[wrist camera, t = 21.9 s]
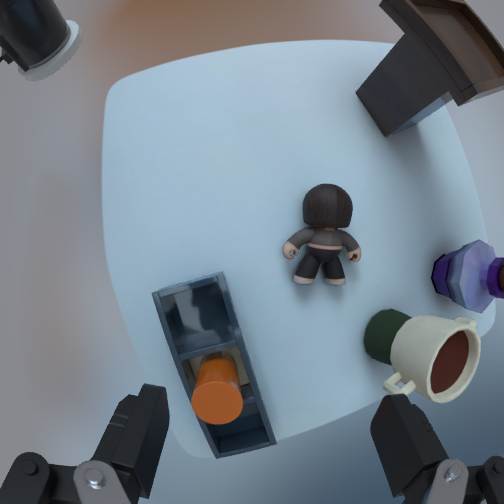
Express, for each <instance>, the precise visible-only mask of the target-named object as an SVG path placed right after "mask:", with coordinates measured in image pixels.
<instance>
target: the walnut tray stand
mask: <svg viewBox="0 0 504 504" xmlns="http://www.w3.org/2000/svg"><path fill="white" fill-rule="evenodd" d="M379 6H380V7H381V8H382V9H383V10H384V11H385V12H386V13H387V14H388V16H389V17H391V18H392V20H394V22H395V23H396V24H397V25H398V26H399V27H400V28H401V30H402V31H403V32H404V33H405V34H404V35H403V36H402V37H401V39H400V40H399V41H398V42H397V43H396V45H395V46H394V47H393V48H392V49H391V50H390V52H389V53H388V54H387V55H386V56H385V58H384V59H383V60H382V61H381V62H380V64H379V65H378V66H377V67H376V68H375V70H374V71H373V72H372V73H371V74H370V76H369V77H368V78H367V79H366V80H365V82H364V83H363V84H362V85H361V86H360V88H359V89H358V90H357V91H356V94H357V95H358V97H359V98H360V99H361V101H362V102H363V104H364V105H365V107H366V108H367V110H368V111H369V113H370V114H371V116H372V117H373V119H374V121H375V122H376V124H377V125H378V127H379V128H380V130H381V132H382V133H383V135H384V137H387V136H389V135H391V134H394V133H396V132H398V131H401V130H403V129H405V128H408V127H410V126H412V125H415V124H417V123H419V122H420V121H421V120H423V119H424V118H426V117H427V116H429V115H430V114H432V113H433V112H435V111H436V110H438V109H439V108H440V107H442V106H443V105H445V104H446V103H448V102H449V101H451V100H452V99H454V101H455V102H456V104H457V105H458V106H460V105H463V104H466V103H468V102H471V101H473V100H476V99H479V98H482V97H484V96H487V95H490V94H493V93H496V92H499V91H502V90H504V49H503V47H502V46H501V44H500V43H499V42H498V40H497V39H496V38H495V36H494V35H493V34H492V32H490V30H489V29H488V27H487V26H486V25H485V24H484V22H483V21H482V20H481V19H480V18H479V16H478V15H477V14H476V13H475V12H474V11H473V10H472V8H471V7H470V6H469V5H468V4H467V3H466V2H465V1H464V0H382V2H381V3H380V4H379Z"/></svg>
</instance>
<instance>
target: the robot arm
mask: <svg viewBox="0 0 504 504" xmlns="http://www.w3.org/2000/svg"><path fill="white" fill-rule="evenodd" d="M70 35H71V29H70V27H69V25H68V24H67V23H66V21H65V20H64V18H63V16H62V15H61V13H60V11H59V9H58V8H57V6H56V4H55V3H54V1H53V0H0V46H1V47H2V56H1V57H0V62H1V61H2V60H3V59H4V60H5V61H6V62H7V63H8V64H10V63H11V62H12V61H15V62H16V63H17V64H18V65H19V66H20V67H21V68H22V70H23V71H24V72H27V71H28V70H29V69H32V68H36V67H39V66H41V65H43V64H45V63H46V62H48V61H49V60H51V59H52V58H53V57H54V56H55V55H57V54H58V53H59V52H60V51H61V50H62V48H63V47H64V46H65V45H66V43H67V42H68V40H69V38H70ZM169 419H170V416H169V408H168V400H167V393H166V388H165V387H161V386H155V385H150V384H144V385H143V386H142V388H141V391H140V393H139V395H138V396H135V395H130V394H129V395H128V396H126V397H125V398H124V399H123V400H122V401H120V402H119V404H118V406H117V408H116V410H115V412H114V415H113V416H112V418H111V420H110V423H109V424H108V426H107V428H106V430H105V432H104V434H103V436H102V438H101V441H100V443H99V445H98V447H97V449H96V451H95V453H94V455H93V457H92V458H91V459H90V460H89V461H85V462H83V463H81V464H80V465H79V466H63V465H55V464H48V463H47V461H46V460H45V459H44V458H43V457H42V456H41V455H39V454H37V453H33V452H26V453H23V454H21V455H19V456H18V457H17V458H16V459H15V461H14V463H13V465H12V466H11V468H10V470H9V472H8V474H7V476H6V478H5V480H4V482H3V484H2V487H1V489H0V504H138V500H139V497H143V498H146V499H149V496H150V492H151V488H152V485H153V481H154V477H155V473H156V470H157V466H158V463H159V459H160V456H161V452H162V449H163V445H164V441H165V438H166V435H167V431H168V427H169ZM370 431H371V436H372V438H373V441H374V444H375V447H376V449H377V452H378V454H379V458H380V460H381V463H382V466H383V469H384V472H385V474H386V477H387V480H388V483H389V486H390V489H391V492H392V495H393V497H394V498H395V497H398V496H402V495H404V496H405V500H404V501H403V503H402V504H480V503H481V502H482V501H483V500H484V499H486V502H487V504H504V458H503V457H500V456H492V457H490V458H489V459H488V460H487V461H486V462H485V463H484V464H483V465H480V466H468V467H466V465H465V464H464V463H463V462H461V461H460V460H457V459H450V458H449V457H448V455H447V453H446V451H445V450H444V448H443V446H442V444H441V442H440V440H439V439H438V437H437V435H436V433H435V431H433V428H432V426H431V424H430V423H429V421H428V419H427V417H426V415H425V414H424V412H423V411H422V410H420V408H418V407H417V406H416V405H415V404H412V405H411V403H410V401H409V399H408V397H407V396H406V395H405V394H404V393H401V394H393V395H386V396H384V398H383V399H382V402H381V404H380V406H379V408H378V410H377V412H376V414H375V416H374V417H373V419H372V422H371V427H370Z"/></svg>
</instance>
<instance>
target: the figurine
mask: <svg viewBox="0 0 504 504" xmlns="http://www.w3.org/2000/svg"><path fill="white" fill-rule="evenodd" d="M352 211H353V205H352V201H351V198H350V197H349V195H348V194H347V192H346V191H345V190H343V189H342V188H341V187H339V186H337V185H334V184H320V185H317V186H316V187H314V188H312V189H311V190H310V191H309V192H308V193H307V194H306V196H305V198H304V201H303V219H304V222H305V223H306V224H309V225H314V227H313V228H306V229H303V230H300V231H298V232H297V233H295V234H294V235H293V236H292V237H290V238H289V239H288V240H287V242H286V243H285V244H284V246H283V249H282V250H283V255H284V257H285V258H287V259H293V258H294V257H293V255H291V254H290V253H291V251H294V253H293V254H294V255H295V256H297V254H298V253H299V249H300V247H301V246H302V245H303V244H305V243H307V244H306V245H307V250H308V252H309V253H308V254H307V255H306V256H305V258H304V259H303V260H302V262H301V263H300V265H299V267H298V269H297V271H296V273H295V276H294V279H293V282H294V283H296V284H301V285H309V284H312V283H313V281H314V279H315V277H316V274H317V272H318V269H319V266H320V264H321V263H324V274H325V279H326V282H327V283H329V284H332V285H345V284H346V281H345V275H344V271H343V268H342V265H341V262H340V260H339V257H338V256H339V254H340V253H341V250H342V246H344V247H345V248H346V250H347V257H348V259H349V260H351V261H353V262H357V261H359V260H360V258H361V249H360V247H359V245H358V243H357V242H356V240H355V239H354V238H353V237H352V236H351V235H350V234H348V233H347V232H345V231H342V230H338V228H346V227H348V226H349V224H350V221H351V217H352ZM352 255H353V256H352Z"/></svg>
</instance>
